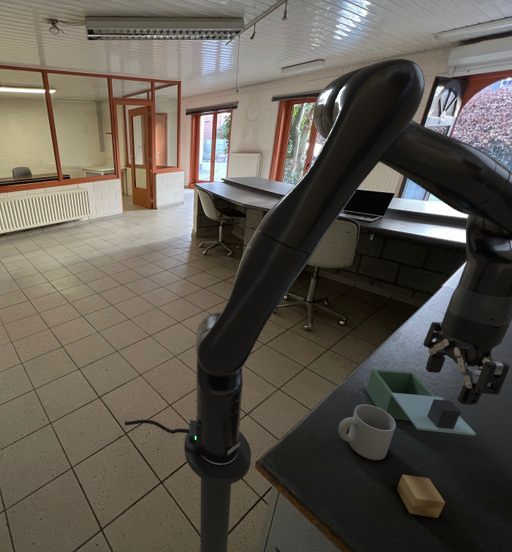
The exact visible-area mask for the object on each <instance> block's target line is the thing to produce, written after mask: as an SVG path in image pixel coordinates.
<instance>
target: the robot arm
mask: <svg viewBox="0 0 512 552" xmlns="http://www.w3.org/2000/svg"><path fill="white" fill-rule="evenodd" d="M425 83H426V80H425V76H424V72H423V70H422V69H421V67H420V65H419V64H418V63H416V62H415V61H413V60H410V59H408V58H407V59H406V58H393V59H386V60H382V61H378V62H375V63H372V64H369V65H366V66H363V67H360V68H356V69H353V70H351V71H348V72H346V73H343V74H342V75H340V76H337V78H335V79H333V80H332V81H330V83H328V84H327V85H326V86H325V87H324V88H323V90H322V91H321V92H320V94H319V95H318V96H317V98H316V101H315V104H314V108H313V113H312V114H313V123H314V127H315V129H316V131H317V132H318V134H319V135H320V136H321V137H322V138H323V139H325V141H324V142H323V144H322V146H321V147H320V150H319V151H318V153H317V155H316V157H315V159H314V160H313V162H312V163H311V165H310V166H309V168H308V169H307V170H306V172H305V173H304V174H303V175H302V177H301V178H300V179H299V180H298V181H297V183H295V184H294V185H293V186H292V188H290V190H288V192H286V193H285V194H284V195H283V196H282V197H281V198H280V199H279V200H278V201H277V202H276V203H275V204H273V206H272V207H271V208H270V209H269V211H268V212H267V213H266V214H265V215H264V216H263V218H262V219H261V221H260V222H259V224H258V226H257V228H256V230H255V231H254V233H253V235H252V237H251V238H250V240H249V242H248V244H247V246H246V247H245V249H244V251H243V254H242V256H241V259H240V261H239V264H238V267H237V269H236V270H237V271H236V274H235V277H234V281H233V284H232V288H231V290H230V294H229V296H228V299H227V302H226V303H225V306H224V308H223V309H222V311H220V312H219V311H217V312H213V313H210V314H207V315H206V316H205V317H203V318H202V319H201V321H200V323H199V324H198V326H197V329H196V338H195V339H196V340H195V355H196V371H195V372H196V373H195V375H196V376H195V381H196V382H195V383H196V386H195V387H196V417H195V418H196V419H190V420H189V428H175V429H172V428H169V427H166V426H165V425H163V424H162V423H160V422H158V421H155V420H153V419H152V420H151V419H136V420H130V421H129V420H127V421H124V426H132V425H139V424H149V425H154V426H156V427H158V428H160V429H161V430H162V431H165V432H166V433H168V434H172V435H173V434H178V433H184V434H187V433H189V443H193V444H196V456H198V457H201V458H202V459H203V460H205V461H206V462H207V463H209V464H211V465H214V466H227V465H230V464H231V463H233V462H234V461H235V460H236V458H237V456H238V447H239V446H240V442H239V431H240V426H241V415H242V414H241V412H242V398H243V385H244V384H243V383H244V382H243V381H244V380H243V366H244V365H245V364H246V362H247V360H248V359H249V357H250V355H251V353H252V351H253V349H254V346H255V345H256V343H257V341H258V338H260V335H261V333H262V332H263V329H264V328H265V326H266V325H267V322H269V320H270V318H271V317H272V316H273V313H274V312H275V310H276V309H277V308H278V307H279V305H280V304H281V303H282V301H283V300H284V297H286V295H287V293H288V291H290V289H291V287H292V285H293V284H294V283H295V281H296V280H297V279H298V278H299V276H300V275H301V273H302V272H303V271H304V269H305V267H306V266H307V264H308V263H309V261H310V260H311V258H312V256H313V255H314V254H315V253H316V251H317V250H318V248H319V246H320V244H321V242H322V241H323V239H324V238H325V236H326V235H327V234H328V233H329V231H330V229H331V228H332V226H333V225H334V223H335V222H336V221H337V220H338V218H339V217H340V215H341V213H342V212H343V210H344V209H345V208H346V206H347V204H348V203H349V201H350V200H351V199H352V197H353V196H354V195H355V193H356V192H357V190H358V189H359V188H360V186H361V185H362V183H363V182H364V181H365V180H366V178H367V177H368V176H369V175H370V174H371V173H372V171H373V170H374V169H375V167H376V166H377V165H378V164H379V163H381V164H382V165H385V166H387V167H389V168H390V169H391V170H393V171H394V172H397V173H398V174H400V175H402V176H403V177H405V178H406V179H408V180H409V181H411V182H413V183H414V184H415V185H417V186H419V187H421V188H422V189H423V190H424V191H426V192H427V193H429V194H430V195H432V196H433V197H435V198H436V199H438V200H439V201H441V202H442V203H443V204H446V205H447V206H448V207H450V208H451V209H453V210H454V211H457V212H458V213H460V214H463V215H467V218H466V223H465V256H466V261H465V265H464V267H463V269H462V272H461V275H460V278H459V281H458V283H457V286H456V287H455V289H454V290H453V292H452V294H451V296H450V299H449V302H448V305H447V308H446V310H445V312H444V316H443V318H442V321H432V322H431V323H430V326H429V328H428V331H427V333H426V335H425V338H424V340H423V343H422V344H423V346H424V347H425V348H427V349H428V350H427V351H428V354H429V356H428V358H427V361H426V366H425V370H426V371H427V372H428V373H432V374H433V373H434V374H435V373H436V374H439V373H440V372H442V369H443V366H444V363H445V361H446V356H447V357H448V358H449V359H452V360H453V361H454V363H455V364H456V365H458V371H459V373H460V374H461V375H462V376H463V379H464V380H463V381H464V384H463V386H462V388H461V390H460V393H459V395H458V397H457V402H459V403H460V404H461V405H465V406H466V405H468V406H474V405H477V404H478V403H479V400H480V399H481V396H482V395H493V396H494V395H495V396H498V395H499V394H500V393H501V390H502V387H503V385H504V382H505V380H506V377H507V376H508V375H507V374H508V372H509V371H510V365H509V363H507V362H501V361H497V360H496V359H495V358H493V357H492V350H493V349H494V348H496V347H497V346H499V345H501V344H502V343H503V341H504V339H505V337H506V334H507V333H508V330H509V327H510V326H511V323H512V171H511V170H510V169H508V168H507V167H506V166H504V165H503V164H502V163H500V162H499V161H497V160H496V159H495V158H494V157H492V156H491V155H489V154H488V153H486V152H484V151H483V150H481V149H479V148H477V147H475V146H473V145H471V144H469V143H468V142H467V143H466V142H464V141H462V140H459V139H457V138H454V137H452V136H449V135H446V134H443V133H441V132H439V131H436V130H433V129H431V128H429V127H426V126H424V125H422V124H420V123H419V122H417V121H415V120H413V119H414V117H415V115H416V114H417V113H418V110H419V107H420V105H421V103H422V100H423V97H424V93H425V87H426V86H425V85H426V84H425ZM433 340H435V341H433ZM469 367H470V368H474V367H477V370H476V369H475V370H474V369H470V368H469ZM474 375H475V377H476V379H477V381H474V377H473V376H474Z"/></svg>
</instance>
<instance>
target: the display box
mask: <svg viewBox="0 0 512 552" xmlns="http://www.w3.org/2000/svg"><path fill="white" fill-rule="evenodd" d="M365 391H366V393H367V394H368V395H369V397H370V399H371V400H372V402H373V403H374V406H376V407H378V408H380V409H382V410H384V411H386V412H387V413H388V414H390V415H391V416H392V417H393V419H394V420H399V421H408V422H412V421H411V420H410V419H409V417H408V416H407V415H406V413H405V412H404V411H403V409H402V408H401V407H400V405H399V404H398V403H397V401H396V400H395V399H394V397H393V396H392V395H391V394H392V393H400V394H412V395H423V396H434V397H437V396H436V395H435V393H434V392H432V390H431V389H430V388H429V387H428V386H427V385H426V384H425V383H424V382H423V381H422V379H421V378H419V376H418V375H417V374H416V373H415V372H414V371H403V370H391V369H390V370H389V369H378V368H371V370H370V375H369V378H368V382H367V386H366V390H365Z"/></svg>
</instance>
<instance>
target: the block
mask: <svg viewBox="0 0 512 552" xmlns="http://www.w3.org/2000/svg"><path fill="white" fill-rule="evenodd" d="M396 491H397V493H398V495H399V497H400V498H401V500H402V502H403V503H404V506H405V507H406V509H407V511H408V513H409V514H410V515H411V514H412V515H418V516H424V517H430V518H435V519H439V517H440V515H441V513H442V511H443V508H444V506H445V504H446V501H445V500H444V498H443V497H442V495H441V494H440V493H439V491H438V489H437V488H436V486H435V485H434V483H433V482H432V481H431V479H430V478H429V477H423V476H417V475H408V474H401V477H400V479H399V482H398V485H397V487H396Z"/></svg>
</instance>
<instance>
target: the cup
mask: <svg viewBox="0 0 512 552" xmlns="http://www.w3.org/2000/svg"><path fill="white" fill-rule="evenodd" d="M395 420H396V419H393V417H392V416H391V415H390V414H388V413H387V412H386V411H384V410H382V409H380V408H378V407H377V406H376V405H372V404H366V403H365V404H364V403H363V404H357V406H355V407H354V410H353V414H352V416H350V417H345V418H344V419H342V420H341V421H340V423H339V424H338V431H337V432H338V436H339V438H341V439H342V440H343V441H344V442H347V443H348V444H349V445H350V446H349V447H351V448H352V450H354V451H355V452H356V453H357V454H358V455H359V456H361V457H362V458H365V459H368V460H372V461H380V460H383V459H385V457H386V456H387V454H388V451H389V448H390V445H391V442H392V439H393V436H394V432H395V430H396V427H397V423H396V421H395ZM348 429H349V430H348ZM347 432H348V433H347Z"/></svg>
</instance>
